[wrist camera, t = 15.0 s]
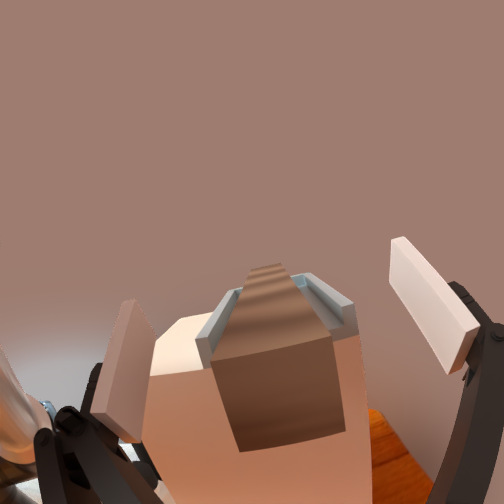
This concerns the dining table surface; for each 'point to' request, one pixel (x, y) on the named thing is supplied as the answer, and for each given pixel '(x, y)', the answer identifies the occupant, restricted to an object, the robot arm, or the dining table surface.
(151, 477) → the medicine bottle
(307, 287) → the tray
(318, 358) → the walnut bar
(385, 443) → the dining table surface
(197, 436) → the plinth
